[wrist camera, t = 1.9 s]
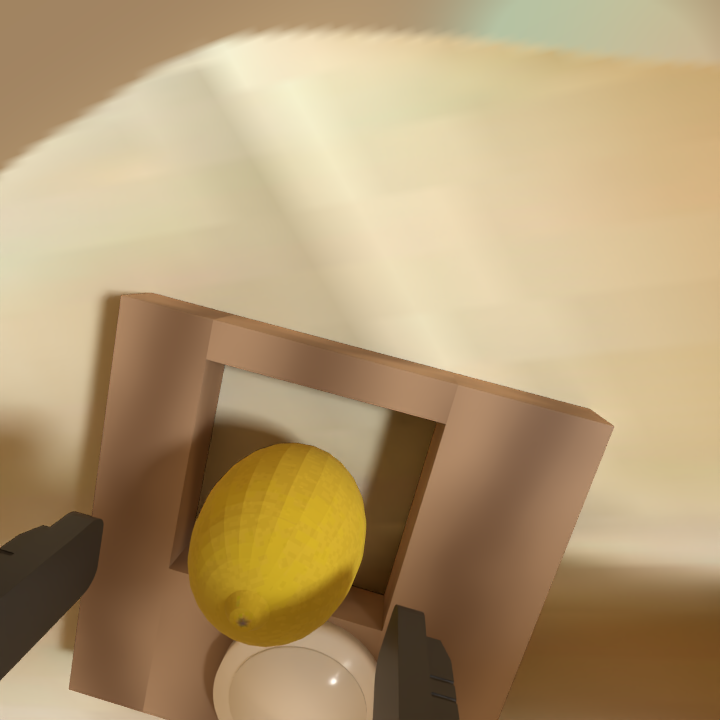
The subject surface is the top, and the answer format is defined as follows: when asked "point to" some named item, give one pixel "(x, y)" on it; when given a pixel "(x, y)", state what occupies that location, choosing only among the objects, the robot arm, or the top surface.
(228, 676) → the saucer
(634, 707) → the top surface
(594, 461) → the pocket board
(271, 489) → the lemon
